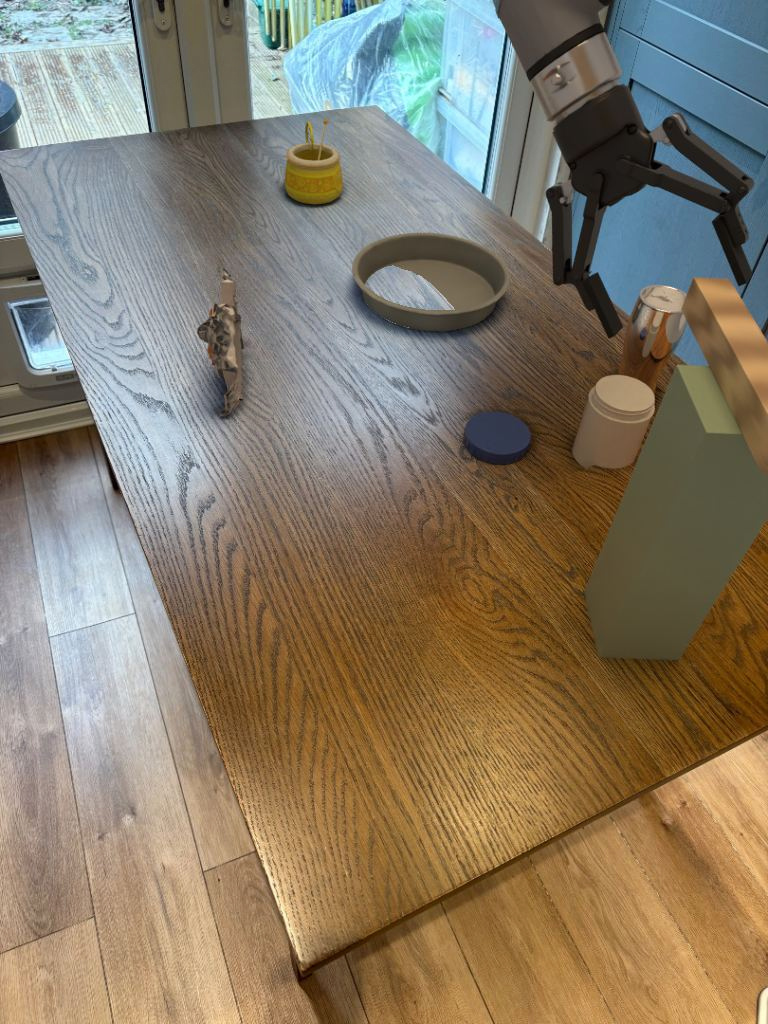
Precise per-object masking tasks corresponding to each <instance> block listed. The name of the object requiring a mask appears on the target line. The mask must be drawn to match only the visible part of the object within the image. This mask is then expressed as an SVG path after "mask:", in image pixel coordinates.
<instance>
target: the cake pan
mask: <svg viewBox="0 0 768 1024" xmlns="http://www.w3.org/2000/svg"><path fill="white" fill-rule="evenodd" d="M392 265H394V266H396V267H399V268H401V269H404V270H408V271H412V272H413V273H415V274H416V275H420V276H422V277H423V278H424V279H426V280H427V281H428V282H430V283H431V284H432V285H433V286H434V287H435V288H436V289H437V290H438V291H439V292H440V293H441V294H442V295H443V296H444V297H445V298H446V299H447V301H448V302H449V303H450V304H451V305H452V306H453V307H454V309H455V310H425V309H417V308H412V307H407V306H403V305H400V304H396V303H393V302H391V301H388V300H386V299H384V298H382V297H380V296H378V295H377V294H375V293H374V292H372V291H371V290H370V289H368V288H367V287H366V286H365V283H366V281H367V280H368V278H369V277H370V276H371V275H372V274H374V273H375V272H376V271H378V270H380V269H382V268H384V267H387V266H392ZM351 272H352V276H353V278H354V281H355V283H356V284H357V286H358V287H359V288H360V289H361V292H362V296H363V299H364V302H365V301H366V302H365V303H366V305H367V304H368V305H367V306H368V307H369V309H370V308H371V309H372V310H373V311H374V312H373V311H372V310H371V309H370V310H371V311H372V312H373V313H375V312H376V313H377V314H378V315H377V314H376V313H375V314H376V315H377V316H379V315H380V316H381V317H380V316H379V317H380V318H382V317H383V318H385V319H387V320H389V321H391V322H393V323H392V324H394V323H396V324H398V325H397V326H399V325H401V326H400V327H402V326H405V327H404V328H406V327H409V328H408V329H410V328H413V329H412V330H415V329H419V330H418V331H421V330H425V331H424V332H432V331H442V332H451V331H450V330H453V331H458V330H457V329H459V330H462V329H461V328H463V329H466V328H465V327H467V328H469V326H470V327H473V326H475V325H477V324H479V323H481V322H483V321H484V320H486V317H487V316H488V317H489V316H490V315H491V314H492V313H493V311H494V310H495V307H496V305H497V301H499V300H500V299H501V298H502V297H504V295H505V294H506V293H507V291H508V289H509V287H510V284H511V275H510V274H511V273H510V271H509V268H508V266H507V265H506V263H505V262H504V261H503V259H501V257H500V256H498V255H497V254H496V253H495V252H493V251H492V250H490V249H489V248H487V247H485V246H483V245H481V244H480V243H477V242H475V241H472V240H469V239H466V238H463V237H459V236H456V235H451V234H445V233H438V232H437V233H436V232H408V233H400V234H395V235H390V236H386V237H383V238H380V239H378V240H376V241H373V242H371V243H370V244H368V245H366V246H365V247H363V248H362V249H361V250H360V251H359V252H358V253H357V254H356V256H355V257H354V259H353V262H352V265H351ZM488 317H487V318H488ZM383 318H382V319H383ZM385 319H384V320H385ZM387 320H386V321H387ZM482 320H483V321H482ZM389 321H388V322H389ZM480 321H481V322H480ZM391 322H390V323H391ZM396 324H395V325H396ZM474 324H475V325H474ZM472 325H473V326H472Z"/></svg>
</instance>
